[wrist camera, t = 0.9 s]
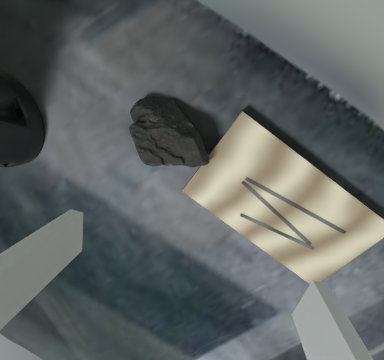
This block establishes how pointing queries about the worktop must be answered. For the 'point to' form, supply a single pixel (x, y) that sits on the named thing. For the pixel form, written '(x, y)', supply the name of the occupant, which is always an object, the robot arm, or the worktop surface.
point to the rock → (165, 135)
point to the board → (283, 202)
